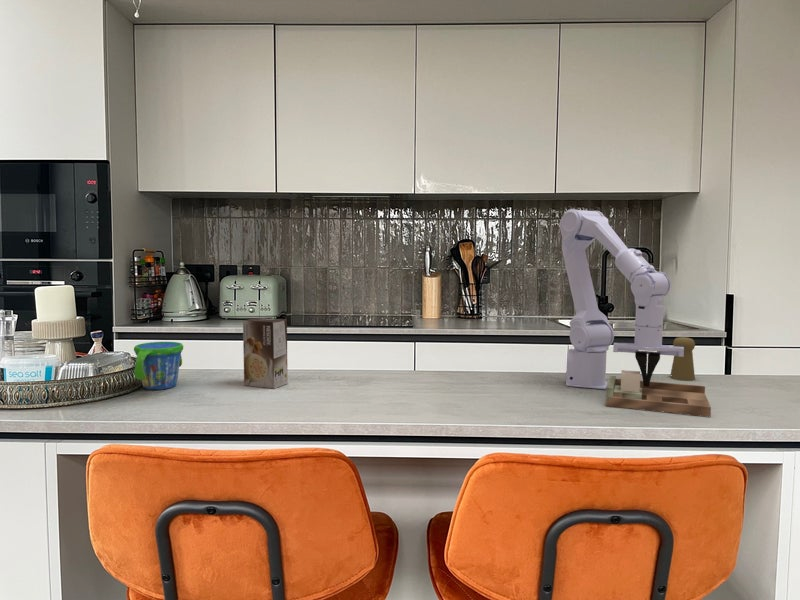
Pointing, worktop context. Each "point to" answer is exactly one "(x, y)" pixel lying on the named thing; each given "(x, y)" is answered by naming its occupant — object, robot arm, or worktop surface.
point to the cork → (683, 360)
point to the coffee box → (265, 352)
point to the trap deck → (660, 397)
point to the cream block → (630, 381)
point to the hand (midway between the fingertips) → (646, 385)
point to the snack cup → (158, 364)
